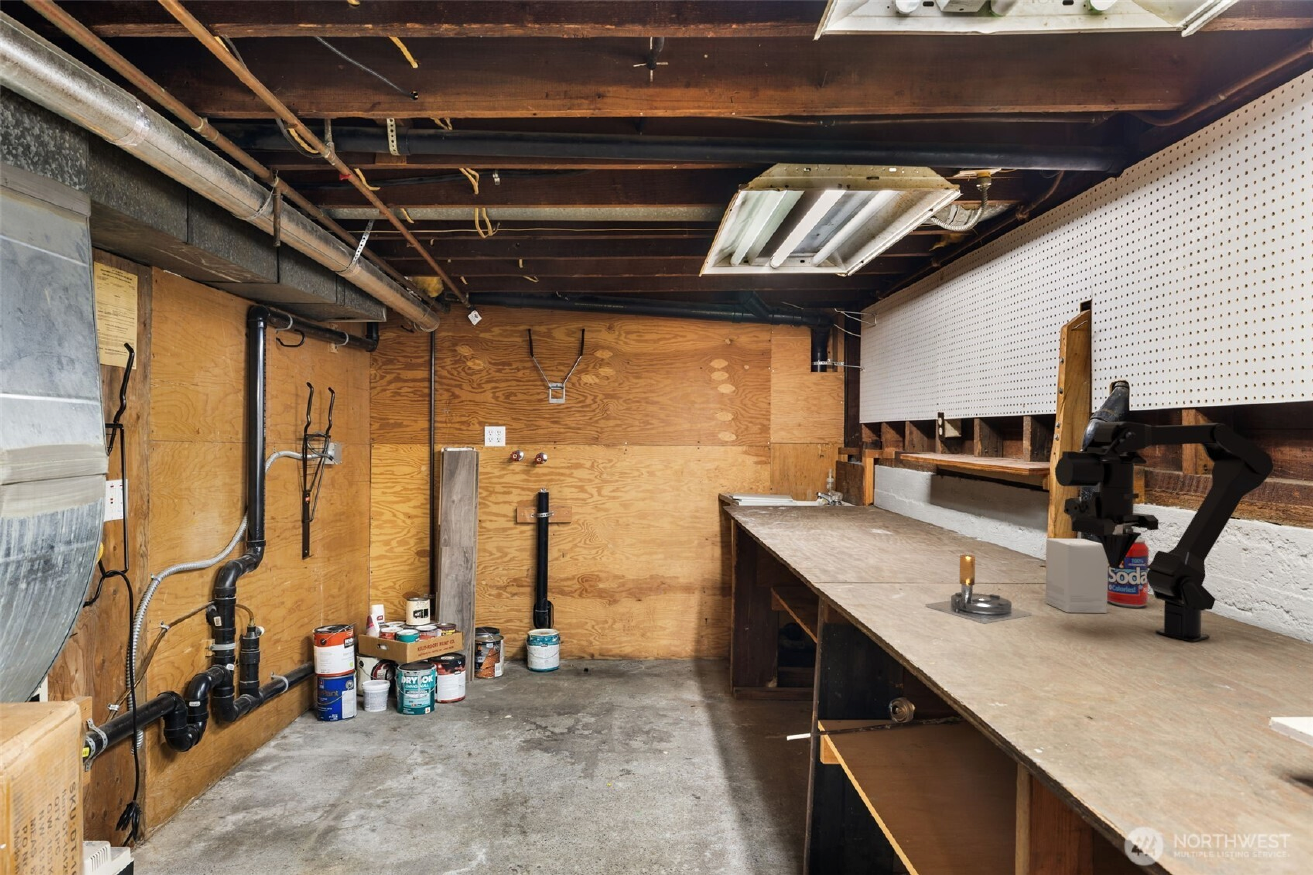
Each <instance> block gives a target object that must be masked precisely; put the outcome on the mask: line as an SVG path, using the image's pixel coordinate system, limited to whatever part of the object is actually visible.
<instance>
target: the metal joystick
mask: <svg viewBox="0 0 1313 875" xmlns="http://www.w3.org/2000/svg"><path fill="white" fill-rule="evenodd" d="M975 577H976V556H975V555H972V554H960V555H959V581H958V582H959V585H961V586H960V587H961V588H960V589H961V590H960V591H959V592H955V594H951V595H950V600H951V605H952V606H953V607H954V600H955V599H959V600H960V606H959V609H960V610H963V611H968V612H973V613H981V614H1006V613H1010V612H1011V611H1012V608H1013V607H1012V605H1013V604H1012V601H1011V600H1009V599H1007V598H1005V597H1002V596H1000V595H998V594H994V593H990V594H986V593H973V592H974V590H973V586H975V585H976V583H975V582H976V578H975Z"/></svg>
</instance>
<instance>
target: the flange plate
mask: <svg viewBox="0 0 1313 875" xmlns="http://www.w3.org/2000/svg"><path fill="white" fill-rule="evenodd" d="M924 606H925V607H926V608H928V609H934V610H937V611H941V612H944V613H946V614H950V615H955V616H956V617H961V618H964V619H967V620H971V621H974V622H978V623H981V624H990V623H995V622H1000V621H1006V620H1007V619H1008V620H1013V619H1019V618H1024V616H1025V617H1031V616H1033V613H1032V612H1030V611H1026V610H1023V609H1019V608H1015V607H1012V611H1011V612H1010V613H1006V614H981V613H973V612H968V611H963V610H960V609H959V606H960V600H959V599H955V600H954V607H953V606H952V605H951V599H950V600H945V601H938V602H932V603H930V602H929V603H925V605H924ZM1008 620H1007V621H1008Z"/></svg>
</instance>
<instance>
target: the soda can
mask: <svg viewBox="0 0 1313 875" xmlns="http://www.w3.org/2000/svg"><path fill="white" fill-rule="evenodd" d="M1149 551H1150V550H1149V547H1148V545H1147V544H1146V540H1145V539H1141V538H1137V539H1136V541H1135V542H1134V544H1133V545H1132V547H1131V548H1130V550H1129V551H1128V553H1127V554H1126V556H1125V558H1124V559H1123V561H1122V563H1121V564H1120V566H1119V568H1116V569H1114V568H1111V567H1110V565H1109V562H1108V581H1107V602H1110V603H1111V604H1113V605H1115V606H1118V607H1124V608H1129V609H1130V608H1132V609H1138V608H1142V607H1144V606H1146V605H1147V604H1148V600H1149V599H1148V598H1149V597H1148V596H1149V584H1148V579H1147V578H1146V577H1147V573H1148V570H1149V569H1148V568H1147V566H1148V565H1149V559H1150V558H1149Z"/></svg>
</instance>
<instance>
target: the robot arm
mask: <svg viewBox="0 0 1313 875" xmlns="http://www.w3.org/2000/svg"><path fill="white" fill-rule="evenodd" d="M1192 444H1193V445H1196V444H1197V445H1199V444H1200V445H1201V446H1202V447H1203V450H1204V452H1205V455H1206V457H1207V458H1208V459H1209V460H1210V461H1211V462H1213V466H1212V468H1211V480H1212V481H1211V482H1212V486H1211V488H1210V489H1209V491H1208V492H1207V495H1206V496H1205V498H1204V499H1203V501H1202V502H1201V504H1200V506H1199V507H1198V509H1197V511H1196V513H1195V514H1194V516H1192V517H1193V518H1192V519H1191V521H1190V522H1189V524H1188V525H1187V528H1186V529H1185V531H1184V532H1183V534H1182V536H1181V538H1180V539H1179V541H1178V542H1177V544H1176V546H1175V547H1174V548H1173V549H1171V550H1169V551H1166V552H1165V551H1162V550H1157V552H1156V553H1155V554H1154V557H1153V559H1152V561H1151V562H1150V564H1148V566H1147V568H1148V573H1147V577H1146V578H1147V579H1148V586H1149V587H1150V588H1151V590H1152V592H1153V594H1154V598H1155V599H1157V600H1162V601H1164V607H1163V608H1164V612H1163V613H1164V614H1163V615H1164V618H1163V619H1164V620H1163V628H1160V629H1156V630H1155V632H1154V633H1155V634H1158V635H1163V636H1167V637H1170V638H1176V639H1179V640H1183V641H1187V642H1191V643H1192V642H1197V641H1201V640H1206V639H1209V638H1210V634H1208V633H1207V634H1206V633H1204V632H1203V633H1202V611H1207V610H1212V609H1213V607H1214V605H1215V601H1216V598H1215V597H1214V596H1213V595H1212V594H1211V593H1210V592H1209V591H1208V590H1207V589H1206V588H1205V587H1204V586H1203V583H1204V581H1205V579H1206V567H1205V560H1206V559H1207V557H1208V555H1209V553H1210V552H1211V550H1212V549H1213V547H1214V545H1215V544H1216V542H1217V540H1218V539H1219V537H1220V535H1221V534H1222V532H1223V530H1224V528H1226V526H1227V524H1228V522H1229V520H1230V519H1231V517H1232V515H1233V514H1234V512H1235V510H1236V509H1237V507H1238V506H1239V503H1240V502H1241V500H1242V499H1243V498H1244V497H1245V496H1246V495H1248V494H1249V493H1251V492H1252V491H1254V490H1256V489H1258V488H1260V487H1261V486H1262V484H1263V483H1264V482H1265V481H1266V480H1267V479H1268V477H1270V475H1271V474H1272V473H1273V471H1274V466H1275V463H1273V461H1272V458H1271V456H1270V454H1269V453H1268V452H1267V451H1265V450H1263V449H1260V447H1259V446H1257V445H1256V444H1255V443H1254V442H1252V441H1251V440H1248V439H1247V438H1245V437H1244V436H1242V435H1240V434H1239V433H1237V432H1235V431H1234V429H1232V427H1230V426H1228V425H1227V424H1225V423H1222V422H1210V423H1209V422H1208V423H1206V422H1203V423H1200V424H1183V425H1182V424H1181V425H1178V424H1177V425H1150V424H1145V423H1139V422H1134V421H1133V422H1132V421H1105V422H1101V423H1099V424H1098V426H1097V427H1096V428H1095V431H1094V432H1093V436H1092V437H1091V438H1090V439H1089V441H1088V442H1087V444H1086V445H1085V446H1084V448H1083V449H1082V450H1081V451H1071V450H1063V451H1062V452H1061V458H1060V459H1059V460H1057V464H1056V466H1055V468H1054V475H1055V479H1056V481H1057V483H1058V484H1059V485H1060V486H1062V487H1084V488H1085V487H1087V488H1088V487H1089V488H1091V487H1092V488H1093V487H1096V486H1097V489H1098V490H1097V491H1095V490H1094V491H1092V493H1091V499H1086V500H1085V499H1084V500H1080V499H1079V497H1070V498H1069V497H1068V498H1067V499H1065V500H1064V505H1063V506H1064V507H1063V513H1064V514H1066V515H1067V516H1069V517H1070V531H1071V532H1077V533H1085V534H1090V535H1094V536H1095V537H1096V538H1097V539H1098V540H1099V541H1100V543H1101V544H1102V545H1103V548H1104V551H1105V554H1106V556H1107V559H1108V562H1109V565H1110V567H1111V568H1114V569H1116V568H1119V566H1120V564H1121V563H1122V561H1123V559H1124V558H1125V556H1126V554H1127V553H1128V551H1129V550H1130V548H1131V547H1132V545H1133V544H1134V542H1135V541H1136V539H1139V537H1141V536H1142V533H1141V532H1136V531H1134V528H1141V529H1146V530H1147V531H1156V530H1157V531H1158V530H1159V519H1158V518H1157V517H1156V516H1155V515H1154V514H1148V513H1147V514H1146V513H1139V512H1134V505H1135V504H1134V500H1138V499H1140V498H1139V497H1140V493H1139V492H1135V465H1145V464H1146V463H1147V460H1146V459H1145V458H1144V457H1143V456H1141V455H1140V454H1139V453H1138V451H1140V450H1145V449H1148V448H1150V447H1154V446H1162V445H1164V446H1167V445H1192ZM1124 453H1125V454H1124ZM1104 458H1106V459H1104Z"/></svg>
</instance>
